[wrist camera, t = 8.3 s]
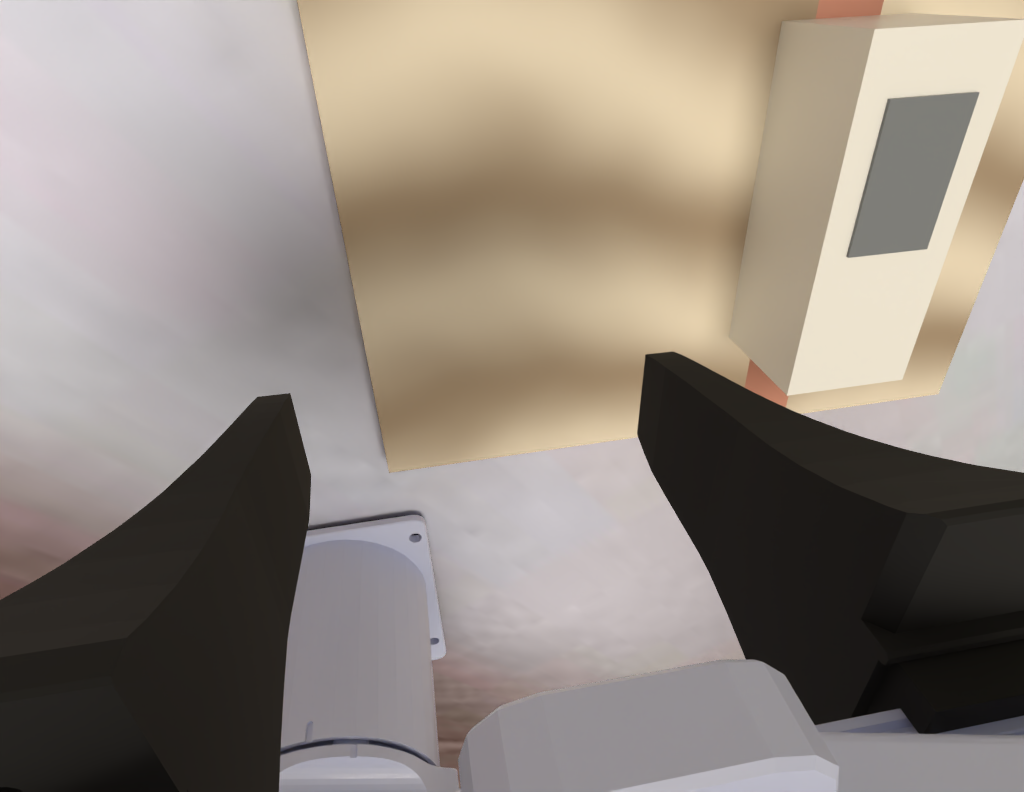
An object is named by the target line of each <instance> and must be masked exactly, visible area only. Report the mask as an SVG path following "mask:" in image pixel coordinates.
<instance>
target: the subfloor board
mask: <svg viewBox="0 0 1024 792" xmlns="http://www.w3.org/2000/svg"><path fill="white" fill-rule="evenodd" d="M297 3H298V8H299V13H300V18H301V23H302V28H303V33H304V38H305V44H306V49H307V54H308V59H309V64H310V69H311V74H312V79H313V85H314V90H315V95H316V100H317V105H318V110H319V115H320V120H321V126H322V131H323V136H324V141H325V146H326V151H327V156H328V161H329V167H330V172H331V177H332V182H333V187H334V192H335V197H336V202H337V208H338V213H339V218H340V223H341V228H342V233H343V238H344V243H345V249H346V254H347V259H348V264H349V269H350V274H351V279H352V284H353V290H354V295H355V300H356V305H357V310H358V315H359V320H360V325H361V331H362V336H363V341H364V346H365V351H366V356H367V361H368V366H369V372H370V377H371V382H372V387H373V392H374V397H375V402H376V407H377V413H378V418H379V423H380V428H381V433H382V438H383V443H384V448H385V454H386V459H387V464H388V469H389V473H391V472H398V471H405V470H412V469H419V468H426V467H433V466H440V465H447V464H454V463H461V462H468V461H475V460H482V459H489V458H496V457H503V456H510V455H517V454H524V453H531V452H538V451H545V450H552V449H559V448H566V447H573V446H580V445H586V444H593V443H600V442H607V441H614V440H621V439H628V438H635V437H638V435H637V429H638V420H639V410H640V401H641V392H642V382H643V373H644V363H645V354H654V353H663V352H672V351H673V352H676V353H678V354H681V355H683V356H685V357H687V358H689V359H691V360H693V361H695V362H697V363H699V364H701V365H703V366H705V367H707V368H709V369H710V370H712V371H714V372H716V373H718V374H720V375H722V376H724V377H725V378H727V379H729V380H731V381H733V382H735V383H737V384H739V385H741V386H742V387H744V388H746V389H748V390H750V391H752V392H754V393H756V394H758V395H760V396H762V397H764V398H766V399H768V400H770V401H773V402H775V403H777V404H779V405H781V406H784V407H786V408H788V409H790V410H792V411H795V412H797V413H799V414H802V413H809V412H816V411H823V410H830V409H837V408H844V407H851V406H858V405H865V404H872V403H879V402H886V401H893V400H900V399H907V398H914V397H921V396H928V395H935V394H938V393H939V391H940V388H941V386H942V383H943V381H944V378H945V376H946V373H947V371H948V368H949V365H950V363H951V360H952V358H953V355H954V353H955V350H956V348H957V345H958V343H959V340H960V338H961V335H962V333H963V330H964V328H965V325H966V323H967V320H968V318H969V315H970V313H971V310H972V308H973V305H974V303H975V300H976V298H977V295H978V293H979V290H980V287H981V285H982V282H983V280H984V277H985V275H986V272H987V270H988V267H989V265H990V262H991V260H992V257H993V255H994V252H995V250H996V247H997V245H998V242H999V240H1000V237H1001V235H1002V232H1003V230H1004V227H1005V225H1006V222H1007V220H1008V217H1009V215H1010V212H1011V209H1012V207H1013V204H1014V202H1015V199H1016V197H1017V194H1018V192H1019V189H1020V187H1021V184H1022V182H1023V179H1024V38H1023V41H1022V44H1021V47H1020V50H1019V53H1018V55H1017V58H1016V61H1015V64H1014V67H1013V69H1012V72H1011V75H1010V78H1009V81H1008V84H1007V86H1006V89H1005V92H1004V95H1003V98H1002V100H1001V103H1000V106H999V109H998V112H997V114H996V117H995V120H994V123H993V126H992V129H991V131H990V134H989V137H988V140H987V143H986V145H985V148H984V151H983V154H982V157H981V160H980V162H979V165H978V168H977V171H976V174H975V176H974V179H973V182H972V185H971V188H970V191H969V193H968V196H967V199H966V202H965V205H964V207H963V210H962V213H961V216H960V219H959V222H958V224H957V227H956V230H955V233H954V236H953V238H952V241H951V244H950V247H949V250H948V252H947V255H946V258H945V261H944V264H943V267H942V269H941V272H940V275H939V278H938V281H937V283H936V286H935V289H934V292H933V295H932V298H931V300H930V303H929V306H928V309H927V312H926V314H925V317H924V320H923V323H922V326H921V329H920V331H919V334H918V337H917V340H916V343H915V345H914V348H913V351H912V354H911V357H910V360H909V362H908V365H907V368H906V371H905V374H904V376H903V379H902V380H897V381H889V382H882V383H875V384H868V385H861V386H853V387H846V388H839V389H832V390H825V391H817V392H810V393H803V394H796V395H789V396H787V395H786V394H785V393H784V392H783V391H782V390H781V389H780V388H779V387H778V386H777V385H776V384H775V383H774V382H773V381H772V380H771V379H770V378H769V377H768V376H767V375H766V374H765V373H764V372H763V371H762V370H761V369H760V368H759V367H758V366H757V365H756V364H755V363H754V362H753V361H752V360H751V359H750V358H749V357H748V356H747V355H746V354H745V353H744V352H743V351H742V350H741V349H740V348H739V347H738V346H737V345H736V344H735V343H734V342H733V341H732V340H731V339H730V338H729V334H730V328H731V322H732V316H733V310H734V304H735V298H736V292H737V286H738V280H739V274H740V268H741V262H742V256H743V250H744V244H745V239H746V233H747V227H748V221H749V215H750V209H751V203H752V197H753V191H754V185H755V179H756V173H757V167H758V161H759V155H760V149H761V143H762V137H763V132H764V126H765V120H766V114H767V108H768V102H769V96H770V90H771V84H772V78H773V72H774V66H775V60H776V54H777V48H778V42H779V36H780V31H781V25H782V21H790V20H807V19H823V18H839V17H856V16H872V15H889V14H905V13H920V14H939V15H958V16H978V17H997V18H1017V19H1024V0H297Z"/></svg>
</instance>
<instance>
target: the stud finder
mask: <svg viewBox="0 0 1024 792" xmlns="http://www.w3.org/2000/svg"><path fill="white" fill-rule="evenodd" d="M1023 38H1024V19H1017V18H997V17H978V16H958V15H939V14H920V13H905V14H889V15H872V16H856V17H839V18H823V19H807V20H790V21H782V25H781V31H780V36H779V42H778V48H777V54H776V60H775V66H774V72H773V78H772V84H771V90H770V96H769V102H768V108H767V114H766V120H765V126H764V132H763V137H762V143H761V149H760V155H759V161H758V167H757V173H756V179H755V185H754V191H753V197H752V203H751V209H750V215H749V221H748V227H747V233H746V239H745V244H744V250H743V256H742V262H741V268H740V274H739V280H738V286H737V292H736V298H735V304H734V310H733V316H732V322H731V328H730V334H729V338H730V339H731V340H732V341H733V342H734V343H735V344H736V345H737V346H738V347H739V348H740V349H741V350H742V351H743V352H744V353H745V354H746V355H747V356H748V357H749V358H750V359H751V360H752V361H753V362H754V363H755V364H756V365H757V366H758V367H759V368H760V369H761V370H762V371H763V372H764V373H765V374H766V375H767V376H768V377H769V378H770V379H771V380H772V381H773V382H774V383H775V384H776V385H777V386H778V387H779V388H780V389H781V390H782V391H783V392H784V393H785V394H786V395H787V396H789V395H796V394H803V393H810V392H817V391H825V390H832V389H839V388H846V387H853V386H861V385H868V384H875V383H882V382H889V381H897V380H902V379H903V376H904V374H905V371H906V368H907V365H908V362H909V360H910V357H911V354H912V351H913V348H914V345H915V343H916V340H917V337H918V334H919V331H920V329H921V326H922V323H923V320H924V317H925V314H926V312H927V309H928V306H929V303H930V300H931V298H932V295H933V292H934V289H935V286H936V283H937V281H938V278H939V275H940V272H941V269H942V267H943V264H944V261H945V258H946V255H947V252H948V250H949V247H950V244H951V241H952V238H953V236H954V233H955V230H956V227H957V224H958V222H959V219H960V216H961V213H962V210H963V207H964V205H965V202H966V199H967V196H968V193H969V191H970V188H971V185H972V182H973V179H974V176H975V174H976V171H977V168H978V165H979V162H980V160H981V157H982V154H983V151H984V148H985V145H986V143H987V140H988V137H989V134H990V131H991V129H992V126H993V123H994V120H995V117H996V114H997V112H998V109H999V106H1000V103H1001V100H1002V98H1003V95H1004V92H1005V89H1006V86H1007V84H1008V81H1009V78H1010V75H1011V72H1012V69H1013V67H1014V64H1015V61H1016V58H1017V55H1018V53H1019V50H1020V47H1021V44H1022V41H1023Z"/></svg>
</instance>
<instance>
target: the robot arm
mask: <svg viewBox="0 0 1024 792" xmlns="http://www.w3.org/2000/svg"><path fill="white" fill-rule="evenodd" d="M637 435H638V438H639V440H640V443H641V446H642V448H643V451H644V454H645V456H646V459H647V461H648V463H649V466H650V468H651V471H652V473H653V475H654V476H655V478H656V480H657V482H658V483H659V485H660V487H661V489H662V490H663V492H664V494H665V496H666V497H667V499H668V501H669V503H670V504H671V506H672V508H673V509H674V511H675V513H676V515H677V516H678V518H679V520H680V521H681V523H682V525H683V526H684V528H685V530H686V532H687V533H688V535H689V537H690V538H691V540H692V542H693V544H694V545H695V547H696V549H697V550H698V552H699V554H700V556H701V558H702V560H703V561H704V563H705V565H706V567H707V569H708V571H709V573H710V575H711V578H712V580H713V582H714V585H715V587H716V589H717V591H718V594H719V596H720V598H721V600H722V603H723V605H724V607H725V609H726V612H727V614H728V617H729V619H730V621H731V624H732V626H733V629H734V631H735V634H736V636H737V638H738V641H739V643H740V646H741V648H742V651H743V653H744V656H745V658H746V660H716V661H711V662H705V663H699V664H694V665H688V666H683V667H677V668H672V669H666V670H661V671H655V672H650V673H644V674H639V675H633V676H628V677H622V678H617V679H611V680H606V681H600V682H595V683H589V684H583V685H578V686H572V687H567V688H561V689H556V690H550V691H545V692H539V693H536V694H533V695H530V696H528V697H525V698H522V699H519V700H516V701H513V702H510V703H507V704H504V705H501V706H500V707H498V708H497V709H496V710H494V711H493V712H492V713H491V714H489V715H488V716H487V717H486V718H484V719H483V720H482V721H480V722H479V723H478V724H477V725H475V726H474V727H473V728H472V729H471V730H470V731H469V733H468V734H467V735H466V738H465V741H464V744H463V747H462V750H461V753H460V756H459V759H458V763H459V773H460V782H461V789H459V785H458V775H457V770H456V769H455V768H443V767H440V762H439V749H438V735H437V722H436V709H435V696H434V683H433V670H432V660H437V659H440V658H442V657H443V656H444V655H445V654H446V645H445V639H444V633H443V626H442V620H441V614H440V608H439V602H438V596H437V590H436V583H435V577H434V571H433V565H432V559H431V553H430V547H429V540H428V534H427V528H426V522H425V520H424V518H423V517H421V516H419V515H408V516H401V517H395V518H388V519H382V520H375V521H368V522H362V523H355V524H349V525H342V526H336V527H329V528H323V529H316V530H309V531H307V528H308V522H309V512H310V490H311V473H310V469H309V465H308V462H307V458H306V454H305V450H304V446H303V442H302V438H301V434H300V430H299V426H298V422H297V418H296V414H295V411H294V407H293V403H292V399H291V395H290V393H289V394H280V395H271V396H262V397H257V398H256V399H255V400H254V401H253V402H252V403H251V404H250V405H249V406H248V407H247V408H246V409H245V410H244V412H243V413H242V414H241V415H240V416H239V417H238V418H237V419H236V420H235V421H234V422H233V424H232V425H231V426H230V427H229V428H228V429H227V430H226V431H225V432H224V433H223V434H222V435H221V436H220V437H219V438H218V439H217V440H216V442H215V443H214V444H213V445H212V446H211V447H210V448H209V449H208V450H207V451H206V452H205V453H204V454H203V455H202V456H201V457H200V458H199V459H198V460H197V461H196V462H195V463H194V464H192V465H191V466H190V467H189V468H188V469H187V470H186V471H185V472H184V473H183V474H182V475H181V476H180V477H179V478H177V479H176V480H175V481H174V482H173V483H172V484H171V485H170V486H169V487H168V488H167V489H166V490H164V491H163V492H162V493H161V494H160V495H159V496H157V497H156V498H155V499H154V500H153V501H151V502H150V503H149V504H148V505H147V506H145V507H144V508H143V509H141V510H140V511H139V512H138V513H136V514H135V515H134V516H132V517H131V518H130V519H128V520H127V521H126V522H125V523H123V524H122V525H121V526H119V527H118V528H116V529H115V530H114V531H112V532H111V533H109V534H108V535H106V536H105V537H103V538H102V539H100V540H99V541H97V542H96V543H94V544H93V545H91V546H90V547H88V548H87V549H85V550H84V551H82V552H81V553H79V554H78V555H76V556H75V557H73V558H72V559H70V560H69V561H67V562H66V563H64V564H62V565H61V566H59V567H58V568H56V569H54V570H52V571H51V572H49V573H47V574H46V575H44V576H42V577H41V578H39V579H37V580H36V581H34V582H32V583H30V584H29V585H27V586H25V587H23V588H21V589H20V590H18V591H16V592H14V593H12V594H10V595H9V596H7V597H5V598H3V599H1V600H0V792H1024V473H1021V472H1015V471H1008V470H1002V469H996V468H989V467H983V466H977V465H972V464H966V463H962V462H957V461H953V460H948V459H943V458H939V457H934V456H929V455H925V454H921V453H917V452H913V451H909V450H905V449H902V448H898V447H895V446H891V445H888V444H884V443H881V442H877V441H874V440H870V439H867V438H864V437H861V436H858V435H855V434H852V433H849V432H846V431H843V430H840V429H838V428H835V427H832V426H830V425H827V424H824V423H822V422H819V421H816V420H814V419H811V418H809V417H806V416H804V415H801V414H799V413H797V412H795V411H792V410H790V409H788V408H786V407H784V406H781V405H779V404H777V403H775V402H773V401H770V400H768V399H766V398H764V397H762V396H760V395H758V394H756V393H754V392H752V391H750V390H748V389H746V388H744V387H742V386H741V385H739V384H737V383H735V382H733V381H731V380H729V379H727V378H725V377H724V376H722V375H720V374H718V373H716V372H714V371H712V370H710V369H709V368H707V367H705V366H703V365H701V364H699V363H697V362H695V361H693V360H691V359H689V358H687V357H685V356H683V355H681V354H678V353H676V352H673V351H672V352H663V353H654V354H645V363H644V373H643V382H642V392H641V401H640V410H639V420H638V429H637ZM415 533H416V534H419V535H416V536H412V534H415Z"/></svg>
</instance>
